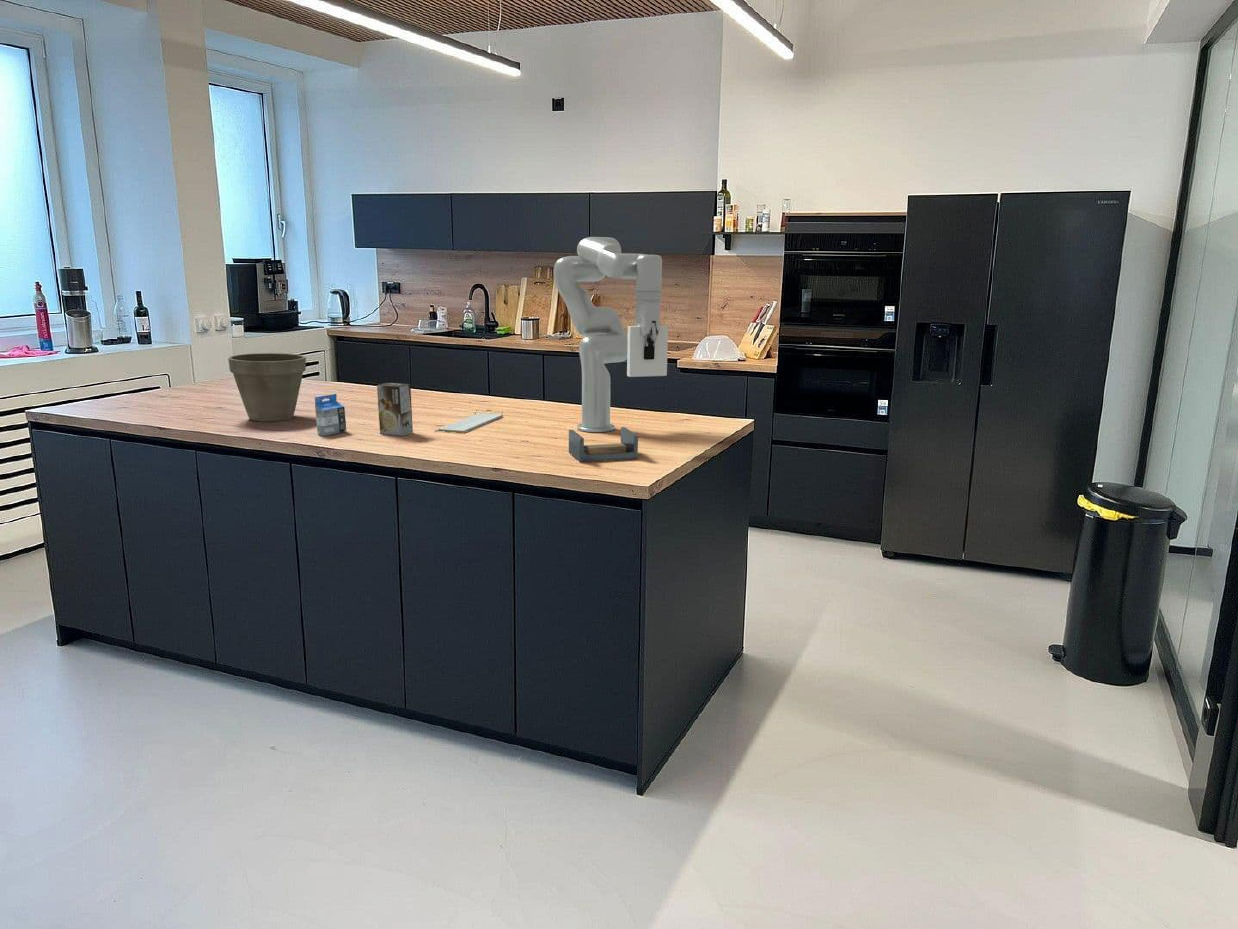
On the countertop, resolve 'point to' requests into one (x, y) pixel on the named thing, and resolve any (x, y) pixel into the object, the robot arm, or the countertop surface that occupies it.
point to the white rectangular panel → (636, 354)
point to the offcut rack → (578, 453)
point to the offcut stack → (605, 448)
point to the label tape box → (329, 415)
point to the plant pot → (268, 383)
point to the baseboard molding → (470, 422)
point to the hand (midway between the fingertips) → (647, 358)
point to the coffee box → (395, 409)
